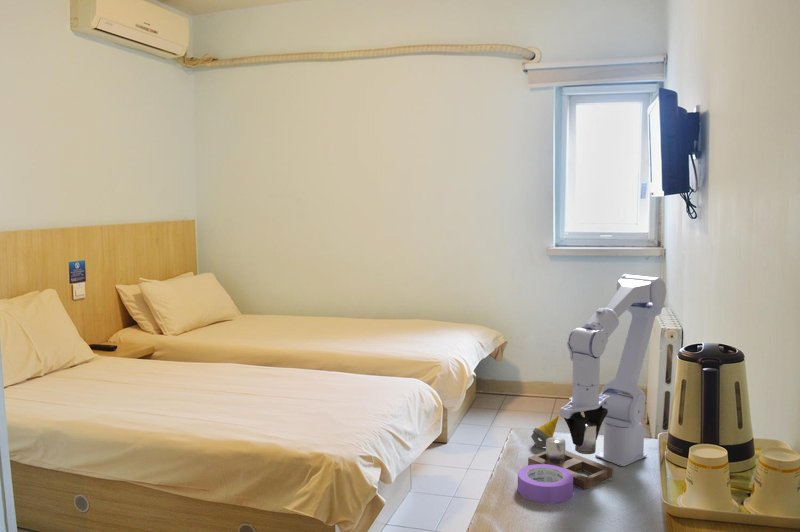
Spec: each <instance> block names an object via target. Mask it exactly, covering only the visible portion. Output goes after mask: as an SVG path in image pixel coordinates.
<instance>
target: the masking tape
mask: <svg viewBox="0 0 800 532" xmlns="http://www.w3.org/2000/svg"><path fill="white" fill-rule="evenodd" d="M517 491H518V494H519V495H520V496H521V497H523V498H525V499H526V500H529V501H531V502H536V503H540V504H558V503H563V502H565V501H568V500H569V499H571V498H572V497H573V496H574V485H573V475H572V473H571V472H569V471H568V470H566V469H564V468H562V467H558V466H554V465H548V464H535V465H529V466H528V465H526V466H523V467H522V468H520V469H518V472H517Z"/></svg>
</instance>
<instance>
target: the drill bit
mask: <svg viewBox="0 0 800 532" xmlns="http://www.w3.org/2000/svg"><path fill="white" fill-rule="evenodd" d="M559 418H560V415H557V416H556V417H554V418H552V419H551V420H549V421H547V422H546V423H543V425H541V426H539V427H537V428H536V427H535V428H534V429H533V430H532V434H531V435H530V437H531V439H532V441H533V443H534V444H535V446H537V447H536V448H540V447H546V439H548V438H551V437H554V433H555V430H556V427H557V424H558V420H559Z"/></svg>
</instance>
